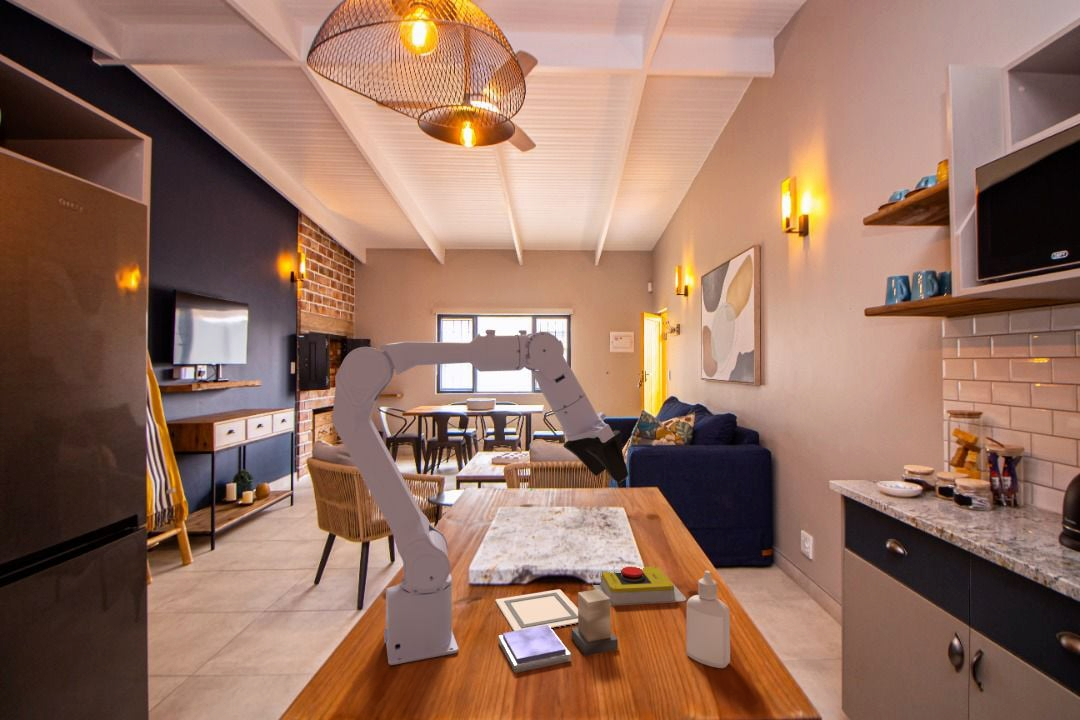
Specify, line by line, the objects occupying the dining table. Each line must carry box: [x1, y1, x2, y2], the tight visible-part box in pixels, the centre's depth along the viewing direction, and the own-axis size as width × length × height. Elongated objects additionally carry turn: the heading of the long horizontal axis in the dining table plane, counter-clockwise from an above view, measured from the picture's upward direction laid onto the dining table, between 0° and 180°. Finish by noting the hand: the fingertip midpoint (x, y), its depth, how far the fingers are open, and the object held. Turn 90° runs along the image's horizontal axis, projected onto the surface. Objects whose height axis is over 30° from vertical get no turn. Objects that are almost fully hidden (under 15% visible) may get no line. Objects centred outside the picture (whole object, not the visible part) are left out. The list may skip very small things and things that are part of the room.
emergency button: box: [592, 566, 687, 607], centre depth 92 cm, size 9×4×15 cm
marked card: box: [495, 588, 578, 631], centre depth 84 cm, size 12×12×1 cm
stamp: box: [570, 589, 619, 657], centre depth 75 cm, size 5×5×7 cm
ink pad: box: [498, 625, 572, 674], centre depth 72 cm, size 8×8×2 cm
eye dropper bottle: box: [685, 570, 731, 669], centre depth 71 cm, size 4×6×12 cm
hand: (611, 475), depth 81 cm, fingers open, 7 cm apart
